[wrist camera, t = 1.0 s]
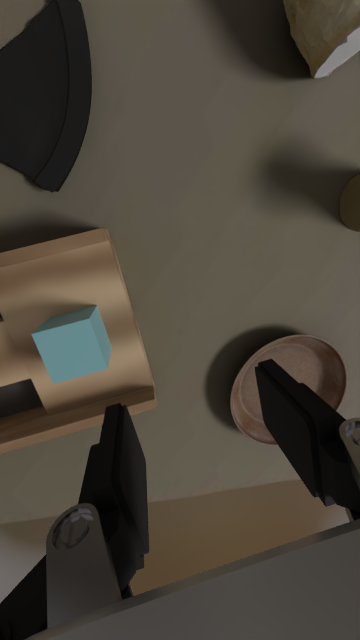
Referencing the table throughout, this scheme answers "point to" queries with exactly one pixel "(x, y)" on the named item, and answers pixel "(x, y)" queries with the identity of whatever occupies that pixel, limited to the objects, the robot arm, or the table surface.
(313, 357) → the saucer
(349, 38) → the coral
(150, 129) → the table surface
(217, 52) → the table surface
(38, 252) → the box
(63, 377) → the teal block
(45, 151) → the fan shaped piece
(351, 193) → the cork
